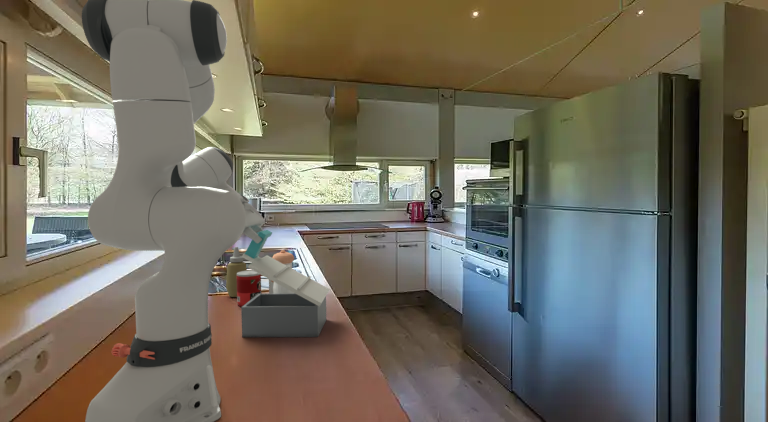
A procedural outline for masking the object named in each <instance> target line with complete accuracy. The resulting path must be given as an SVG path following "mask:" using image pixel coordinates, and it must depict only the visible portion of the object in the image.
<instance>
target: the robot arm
mask: <svg viewBox="0 0 768 422" xmlns="http://www.w3.org/2000/svg"><path fill="white" fill-rule="evenodd" d="M81 23H82V29H83V32H84V35H85V36H84V37H85V39H86V40H87V41H86V42H88V44H89V46H90V48H91V49H92V50H93V52H95V53H96V54H97V55H98V56H99V57H100V58H102V59H103V60H104V61H107V62H109V79H110V80H109V81H110V82H109V83H110V90H111V91H110V93H111V100H112V105H113V112H114V121H115V128H116V136H117V160H116V165H115V170H114V173H113V175H112V178H111V180H110V182H109V184H108V186H107V187H106V188H105V189H104V190H103V191H102V192H101V193H100V194H99V195H98V196H96V197H95V199H94V200H93V201H92V203H91V205H90V208H88V215H87V224H88V228H89V231H90V233H91V235H92V237H93V238H94V240H96V242H98V243H99V244H101V245H104V246H106V247H112V248H115V249H120V250H126V251H133V252H137V251H138V252H139V251H140V252H141V251H142V252H143V251H146V252H147V251H152V252H153V251H155V252H156V251H159V252H160V251H164V260H163V262H162V266H161V269H160V270H159V271H157V272H155V273H154V274H153V275H151V276H149V277H147V278H146V279H145V280H143V281H142V282H141V283H140V285H139V286H138V287H137V289H136V291H135V294H134V305H135V309H134V310H135V330H136V331H135V332H136V333H135V334H134V335H133V338H132V341H131V344H130V345H129V344H124V343H121V342H119V343H115V344H114V345H113V346H112V348H111V351H110V353H111V355H112V356H113V357H119V358H122V359H123V358H126V362H125V363H124V364H123V366H122V367H121V368H120V369H119V370H118V371H117V372H116V373H115V374H114V376H113V377H112V378H111V379H110V380H109V381H108V382H107V383H106V384H105V386H104V387H103V388H102V389H101V390H100V391H99V392H98V393H97V394H96V395H95V396H94V398H92V399H91V401H90V402H89V405H88V406H87V410H86V414H85V422H216V421H218V420H219V419H220V418H221V417H222V411H221V407H220V404H221V399H222V398H221V395H220V393H219V390H218V387H217V383H216V379H215V373H214V368H213V363H212V358H211V350H210V347H211V346H212V344H213V343H212V342H213V340H212V337H213V334H212V326H211V323H209V288H210V281H211V277H212V274H213V271H214V269H215V266H216V264H217V263H218V261H219V260H220V258H221V257H222V256H223V255H224V254H225V252H226V251H228V250H229V249H230V248H232V247H233V246H234V245H235V244H236V243H238V241H239V240H240V238H241V237H242V235H245V236H246V237H247V238H249V239H251V241H252V240H254V241H255V242H256V243H260V242H261V241H262V240H263V238H261V237H260V236H258V235H259V234H257V232H261V231H264V229H263V228H262V227H263V225H264V224H265V223H266V220H265V219H264V216H262V214H261V213H260V212H259V211H258V210H257V208H255V207H254V206H253V205H252V204H251V203H249V202H250V199H249V198H247V197H246V196H244V195H242V194H240V193H239V192H238V191H236V190H235V189H234V188H233V187H232V186H231V185H229V184H228V182H227V181H228V179H230V178H231V177H232V175H233V172H234V162H233V160H232V159H231V157H230V156H229V155H228V154H227V153H226V152H225V151H224V150H222V149H220V148H219V147H216V146H208V147H206V148H203V149H202V150H200V151H198V152H196V153H194V154H193V152H194V151H195V149H196V145H197V140H196V131H195V123H197V122H198V121H199V120H200V119H201V118H203V116H204V115H205V114H206V113H207V112H208V111H209V110H210V108H211V107H212V105H213V104H214V101H215V91H216V90H215V82H214V81H215V80H214V78H213V74H212V73H213V72H212V69H211V65H213V64H216V63H219V62H220V61H221V60H222V59H223V57H225V54H226V53H225V52H226V48H227V44H228V34H227V29H226V26H225V23H224V21H223V19H222V17H221V14H220V13H219V10H217V8H215V7H214V5H212V4H210V3H208V2H204V1H201V0H200V1H199V0H192V1H189V0H87V1H86V2H85V5H84V6H83V7H82V11H81ZM192 154H193V155H192Z"/></svg>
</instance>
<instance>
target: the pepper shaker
mask: <svg viewBox="0 0 768 422" xmlns="http://www.w3.org/2000/svg"><path fill="white" fill-rule="evenodd" d="M271 258H273V259H275V260H277V261H279V262H281V263H282V264H284V265H286V266H287V265H290V268H292V269H293V264H292V263H293V262H294V260H295V256H294V255H293V253H290V252H287V251H286V250H284V249H281V250H280V252H276V253H274V254H273V256H271ZM273 292H274V294H277V293H294V292H292V291H290V290H288V289H286V288H284V287H283V286H281V285H279V284H277V283H275V282H274V286H273Z"/></svg>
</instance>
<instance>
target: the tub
mask: <svg viewBox="0 0 768 422" xmlns="http://www.w3.org/2000/svg"><path fill="white" fill-rule="evenodd" d="M240 311H241V314H240V315H241V337H242V338H318V337H319V335H320V334H321V331H322V330H323V328H324V325H325V323H326V321H327V296H326V297H325V298H324V300H323V302H322V303H321V305H320V307H319V306H318V305H316V304H314V303H312V302H310V301H308V300H307V299H305V298H303V297H301V296H299V295H297V294H296V293H277V294H269V293H261V294H258V295H256V296H255V297H254V298H253V299H251V300H250V301H249V302H247V303H246V304H245V305H244V306H242V307H240Z"/></svg>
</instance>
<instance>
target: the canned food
mask: <svg viewBox="0 0 768 422" xmlns="http://www.w3.org/2000/svg"><path fill="white" fill-rule="evenodd" d="M258 294H262V275H261V274H259V273H257V272H255V271H253V270H251V269H250V270H248V269H247V271H241V272H238V273H237V297H236V303H237V305H238V307H240V308H241V307H242V306H244V305H245V304H246V303H247V302H249V301H250V300H251V299H253V298H254V297H255V296H256V295H258Z"/></svg>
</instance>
